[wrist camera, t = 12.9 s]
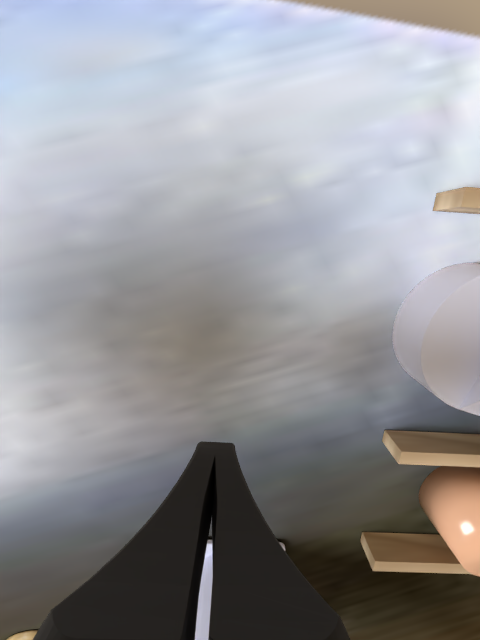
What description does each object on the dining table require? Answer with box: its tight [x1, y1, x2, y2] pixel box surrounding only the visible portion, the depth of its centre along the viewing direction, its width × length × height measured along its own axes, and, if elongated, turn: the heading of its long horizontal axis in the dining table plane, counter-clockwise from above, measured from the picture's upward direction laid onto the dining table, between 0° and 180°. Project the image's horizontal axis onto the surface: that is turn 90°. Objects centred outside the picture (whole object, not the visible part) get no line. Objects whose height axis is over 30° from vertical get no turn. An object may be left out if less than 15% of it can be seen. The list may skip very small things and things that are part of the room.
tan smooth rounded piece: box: [419, 466, 480, 577], centre depth 22 cm, size 6×6×4 cm
